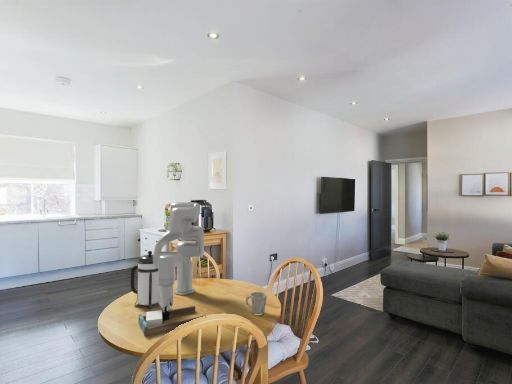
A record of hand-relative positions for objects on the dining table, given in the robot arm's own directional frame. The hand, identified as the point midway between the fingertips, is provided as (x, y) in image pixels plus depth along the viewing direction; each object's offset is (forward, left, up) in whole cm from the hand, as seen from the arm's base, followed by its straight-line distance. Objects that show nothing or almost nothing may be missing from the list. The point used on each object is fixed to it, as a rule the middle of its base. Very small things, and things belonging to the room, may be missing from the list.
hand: (165, 319), depth 137 cm
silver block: (-1, -5, -2) cm, 6 cm away
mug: (+10, +44, -2) cm, 45 cm away
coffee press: (-30, -3, -2) cm, 30 cm away
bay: (0, +3, -2) cm, 4 cm away
